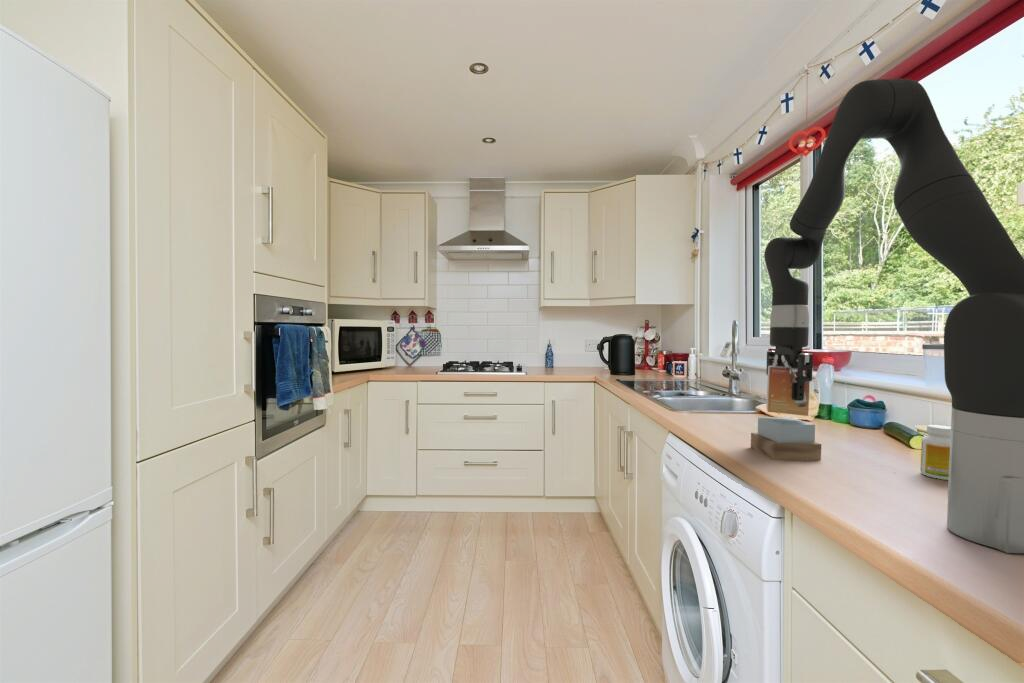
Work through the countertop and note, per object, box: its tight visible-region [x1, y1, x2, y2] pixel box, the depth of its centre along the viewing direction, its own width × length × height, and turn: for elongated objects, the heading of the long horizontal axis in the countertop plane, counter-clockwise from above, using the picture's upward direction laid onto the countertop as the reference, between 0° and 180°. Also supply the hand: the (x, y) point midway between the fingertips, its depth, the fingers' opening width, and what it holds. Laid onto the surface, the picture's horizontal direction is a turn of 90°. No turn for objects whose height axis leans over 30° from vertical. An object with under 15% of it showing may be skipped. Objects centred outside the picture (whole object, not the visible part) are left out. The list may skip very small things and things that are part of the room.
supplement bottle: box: [920, 424, 951, 481], centre depth 88 cm, size 5×5×10 cm
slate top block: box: [757, 416, 816, 443], centre depth 102 cm, size 8×8×4 cm
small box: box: [766, 366, 811, 417], centre depth 103 cm, size 8×6×10 cm
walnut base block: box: [750, 432, 822, 461], centre depth 103 cm, size 10×10×4 cm
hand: (787, 397), depth 103 cm, fingers closed on small box, 7 cm apart
